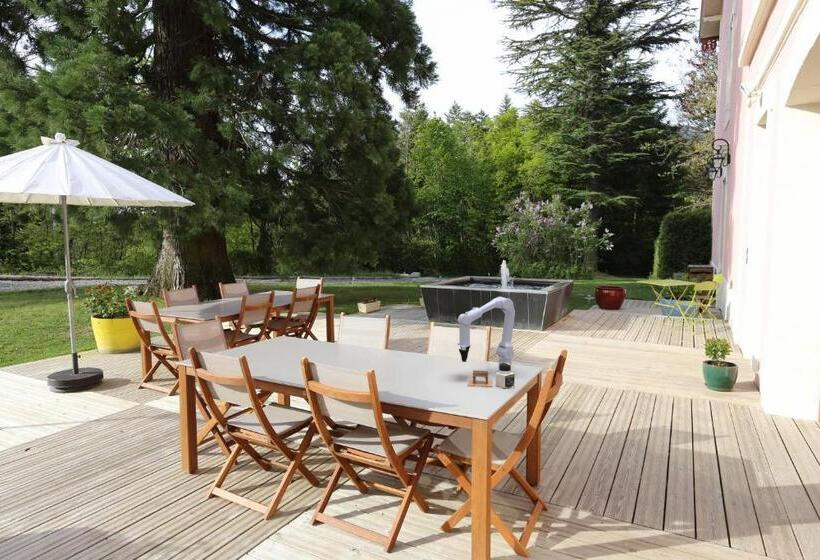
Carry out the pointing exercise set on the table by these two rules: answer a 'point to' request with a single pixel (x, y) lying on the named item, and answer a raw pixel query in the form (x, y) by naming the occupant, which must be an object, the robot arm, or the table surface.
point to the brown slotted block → (480, 375)
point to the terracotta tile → (480, 383)
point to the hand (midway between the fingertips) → (464, 360)
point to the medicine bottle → (505, 376)
